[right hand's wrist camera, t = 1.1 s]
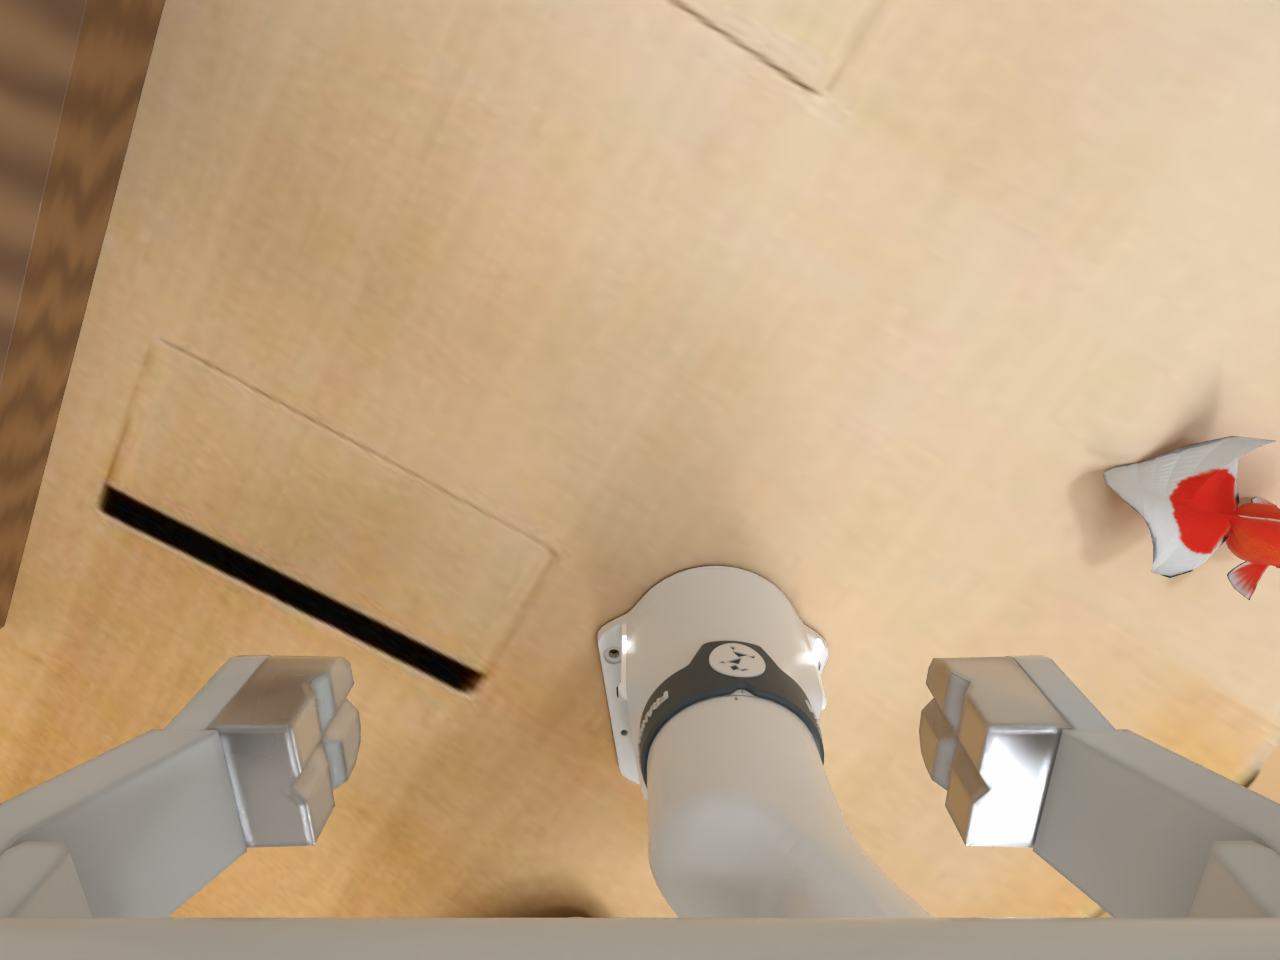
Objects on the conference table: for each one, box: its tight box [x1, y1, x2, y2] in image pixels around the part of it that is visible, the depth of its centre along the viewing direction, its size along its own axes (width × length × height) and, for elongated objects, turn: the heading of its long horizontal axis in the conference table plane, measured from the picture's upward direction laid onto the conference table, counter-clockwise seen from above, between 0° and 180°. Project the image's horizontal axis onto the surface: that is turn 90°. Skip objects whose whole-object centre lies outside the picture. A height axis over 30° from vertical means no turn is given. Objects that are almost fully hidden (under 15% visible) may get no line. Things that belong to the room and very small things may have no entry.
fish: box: [1103, 436, 1280, 600], centre depth 53 cm, size 11×16×10 cm
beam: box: [0, 0, 165, 628], centre depth 45 cm, size 75×5×6 cm, turn 152°
